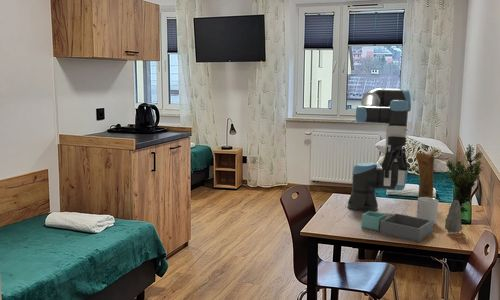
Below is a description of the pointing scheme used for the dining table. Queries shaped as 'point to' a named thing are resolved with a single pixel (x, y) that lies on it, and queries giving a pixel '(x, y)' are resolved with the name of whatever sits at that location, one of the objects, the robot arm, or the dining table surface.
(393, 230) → the grey crate
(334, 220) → the dining table surface
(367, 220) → the block
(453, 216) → the stone tool
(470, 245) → the dining table surface
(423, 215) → the mug
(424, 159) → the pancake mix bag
